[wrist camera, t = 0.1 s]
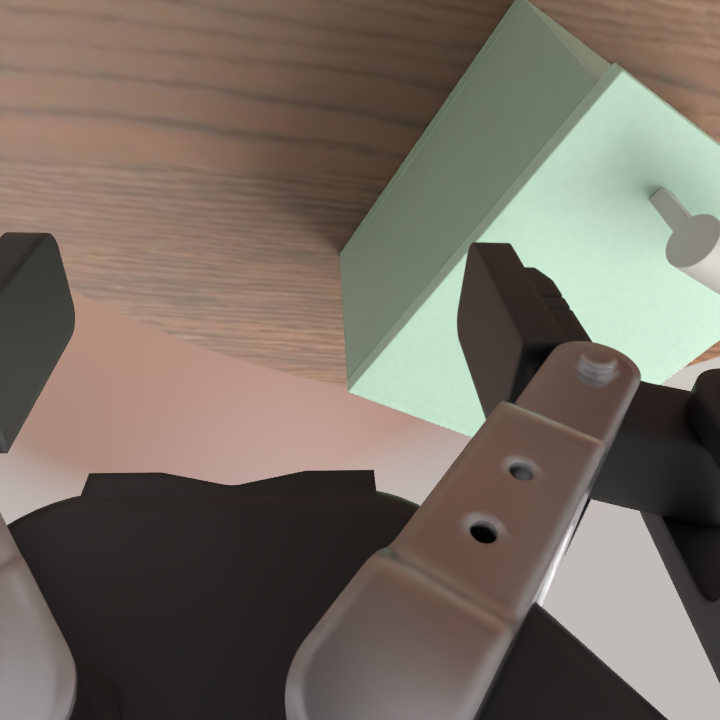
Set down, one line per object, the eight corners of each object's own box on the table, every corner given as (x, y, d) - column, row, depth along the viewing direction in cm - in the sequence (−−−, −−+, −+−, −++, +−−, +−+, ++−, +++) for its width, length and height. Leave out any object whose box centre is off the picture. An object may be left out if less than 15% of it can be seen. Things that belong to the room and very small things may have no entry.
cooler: (518, -7, 29) (595, 81, 21) (703, 135, 35) (817, 246, 27) (339, 254, 39) (346, 379, 31) (505, 332, 45) (547, 455, 37)
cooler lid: (613, 61, 21) (679, 127, 17) (836, 234, 26) (921, 312, 23) (346, 380, 31) (351, 465, 27) (547, 456, 37) (574, 534, 33)
